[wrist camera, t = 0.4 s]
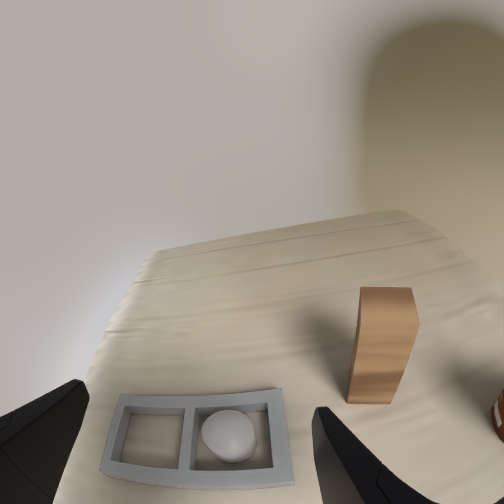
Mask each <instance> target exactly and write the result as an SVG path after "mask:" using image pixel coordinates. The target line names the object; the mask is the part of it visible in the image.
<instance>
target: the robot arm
mask: <svg viewBox="0 0 504 504" xmlns="http://www.w3.org/2000/svg"><path fill="white" fill-rule="evenodd" d="M88 402H89V393H88V391H87V389H86V386H85V384H84V382H83V381H81V380H77V379H74V380H71V381H70V382H68V383H66V384H64V385H62V386H60V387H58V388H56V389H54V390H52V391H51V392H49V393H47V394H45V395H43V396H41V397H39V398H37V399H35V400H33V401H32V402H29V403H27V404H26V405H24V406H22V407H20V408H18V409H16V410H14V411H12V412H10V413H8V414H6V415H4V416H1V417H0V504H53V500H54V497H55V494H56V491H57V488H58V485H59V483H60V480H61V477H62V474H63V471H64V469H65V466H66V463H67V461H68V458H69V456H70V453H71V451H72V448H73V446H74V443H75V441H76V438H77V436H78V433H79V431H80V428H81V425H82V422H83V419H84V415H85V412H86V409H87V406H88ZM312 437H313V451H314V461H315V466H316V471H317V476H318V481H319V486H320V491H321V496H322V501H323V504H439V503H436V502H433V501H431V500H429V499H427V498H426V497H424V496H423V495H421V494H420V493H418V492H417V491H416V490H414V489H413V488H411V487H410V486H408V485H407V484H406V483H404V482H403V481H402V480H401V479H399V478H398V477H397V476H396V475H395V474H393V473H392V472H391V471H390V470H389V469H388V468H387V467H386V466H385V465H384V464H382V462H381V461H380V460H379V459H378V458H377V457H376V456H375V455H374V454H373V453H372V452H371V451H370V450H369V449H368V448H367V447H366V446H365V445H364V444H363V443H362V442H361V441H360V440H359V439H358V438H357V437H356V436H355V435H354V434H353V433H352V432H351V431H350V430H349V429H348V428H347V427H346V426H345V425H344V424H343V423H342V421H341V420H340V419H339V418H338V417H337V416H336V415H335V414H334V413H333V412H332V411H331V410H330V409H329V408H328V407H317V408H316V409H315V412H314V416H313V419H312ZM494 504H504V497H503V498H501V499H500V500H499V501H497V502H496V503H494Z"/></svg>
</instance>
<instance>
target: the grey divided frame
mask: <svg viewBox="0 0 504 504" xmlns="http://www.w3.org/2000/svg"><path fill="white" fill-rule="evenodd" d="M267 410H268V416H269V426H270V437H271V448H272V459H273V468H265V469H253V470H234V471H197V470H195V466H196V452H197V440H198V428H199V417H200V415H211V416H210V417H209V418H207V420H206V421H205V422H204V424H203V426H202V430H201V435H202V439H203V441H204V442H205V444H206V445H207V446H208V448H209V449H210V450H211V452H212V453H213V454H214V456H215V457H216V458H218V459H219V460H221V461H223V462H226V463H239V462H242V461H245V460H247V459H248V458H250V457H251V456H252V455H253V454H254V452H255V451H256V448H257V443H258V441H257V437H256V434H255V431H254V428H253V425H252V423H251V421H250V419H249V418H248V417H247V416H246V415H245V414H243V413H248V412H258V411H267ZM131 413H135V414H150V415H184V422H183V430H182V438H181V446H180V455H179V465H178V469H166V468H156V467H148V466H141V465H134V464H128V463H122V462H119V461H120V457H121V453H122V448H123V444H124V440H125V436H126V432H127V428H128V424H129V420H130V416H131ZM99 471H100V472H102V473H103V474H105V475H107V476H109V477H113V478H117V479H122V480H127V481H132V482H138V483H143V484H150V485H157V486H165V487H174V488H186V489H203V490H242V489H260V488H271V487H281V486H289V485H294V476H293V469H292V461H291V453H290V446H289V439H288V431H287V424H286V417H285V409H284V402H283V395H282V388H278V389H271V390H263V391H254V392H244V393H233V394H220V395H201V396H139V395H121V394H120V398H119V401H118V404H117V407H116V410H115V414H114V417H113V420H112V424H111V427H110V431H109V434H108V438H107V441H106V445H105V449H104V453H103V456H102V460H101V464H100V469H99Z"/></svg>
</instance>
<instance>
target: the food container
mask: <svg viewBox="0 0 504 504" xmlns="http://www.w3.org/2000/svg"><path fill="white" fill-rule="evenodd" d="M492 421H493V425H494V429H495V431H496V433H497V435H498V436H499V438H500V440H501V441H502V442H504V390H503V391H502V393H501V395H500V396H499V398H498V399H497V401H496V402H495V404H494V406H493V407H492Z"/></svg>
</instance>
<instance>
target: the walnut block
mask: <svg viewBox="0 0 504 504" xmlns="http://www.w3.org/2000/svg"><path fill="white" fill-rule="evenodd" d="M419 325H420V322H419V317H418V313H417V309H416V305H415V301H414V297H413V293H412V289H411V288H396V287H361V288H360V299H359V310H358V319H357V327H356V335H355V343H354V350H353V356H352V363H351V369H350V379H349V389H348V398H347V403H350V404H391V402H392V399H393V397H394V395H395V392H396V390H397V388H398V385H399V383H400V380H401V378H402V375H403V373H404V370H405V367H406V365H407V362H408V359H409V356H410V353H411V350H412V348H413V345H414V341H415V338H416V335H417V332H418V329H419Z"/></svg>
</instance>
